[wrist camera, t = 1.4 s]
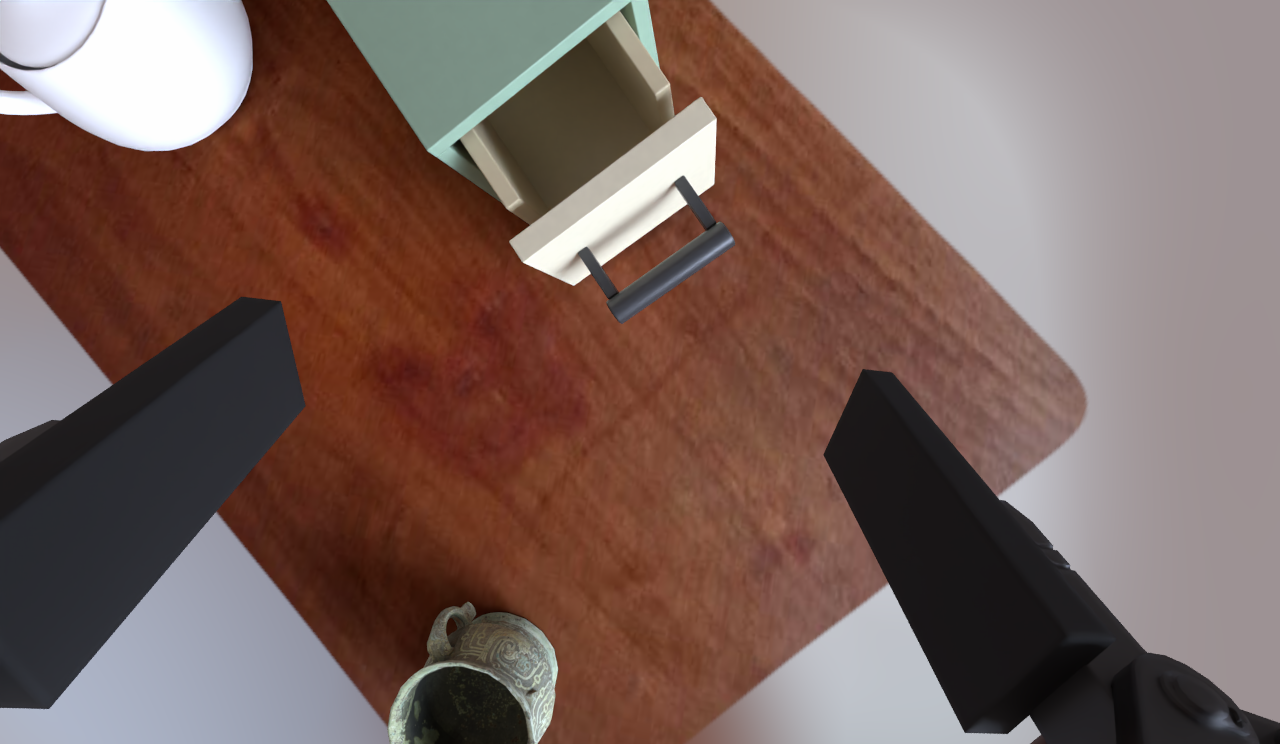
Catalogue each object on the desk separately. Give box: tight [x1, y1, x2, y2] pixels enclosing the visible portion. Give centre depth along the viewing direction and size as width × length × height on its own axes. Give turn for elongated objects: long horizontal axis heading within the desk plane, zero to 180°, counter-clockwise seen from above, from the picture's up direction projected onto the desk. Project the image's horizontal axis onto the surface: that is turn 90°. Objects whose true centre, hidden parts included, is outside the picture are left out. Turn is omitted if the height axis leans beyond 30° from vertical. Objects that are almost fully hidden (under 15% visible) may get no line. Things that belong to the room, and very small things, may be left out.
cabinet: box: [327, 0, 660, 203], centre depth 27 cm, size 15×12×11 cm
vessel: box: [388, 602, 558, 744], centre depth 31 cm, size 12×9×6 cm
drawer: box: [460, 11, 735, 324], centre depth 27 cm, size 18×10×9 cm, turn 34°
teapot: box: [0, 0, 253, 151], centre depth 30 cm, size 22×14×11 cm, turn 117°
